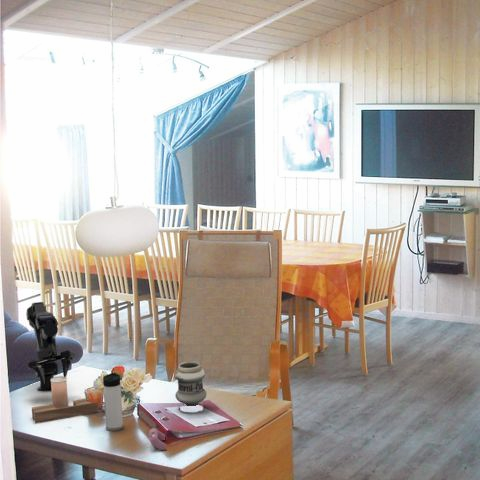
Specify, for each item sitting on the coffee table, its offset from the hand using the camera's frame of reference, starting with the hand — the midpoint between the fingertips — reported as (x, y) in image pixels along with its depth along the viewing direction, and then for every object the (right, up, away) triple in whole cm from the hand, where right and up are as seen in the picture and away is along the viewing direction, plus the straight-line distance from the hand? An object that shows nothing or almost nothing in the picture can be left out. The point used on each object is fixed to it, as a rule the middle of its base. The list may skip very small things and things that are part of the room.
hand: (54, 380), depth 326 cm
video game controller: (+46, -15, -46) cm, 67 cm away
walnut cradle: (+7, -11, -13) cm, 18 cm away
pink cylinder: (+3, -10, -5) cm, 12 cm away
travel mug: (+29, -13, -28) cm, 42 cm away
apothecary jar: (+56, -9, -11) cm, 58 cm away
